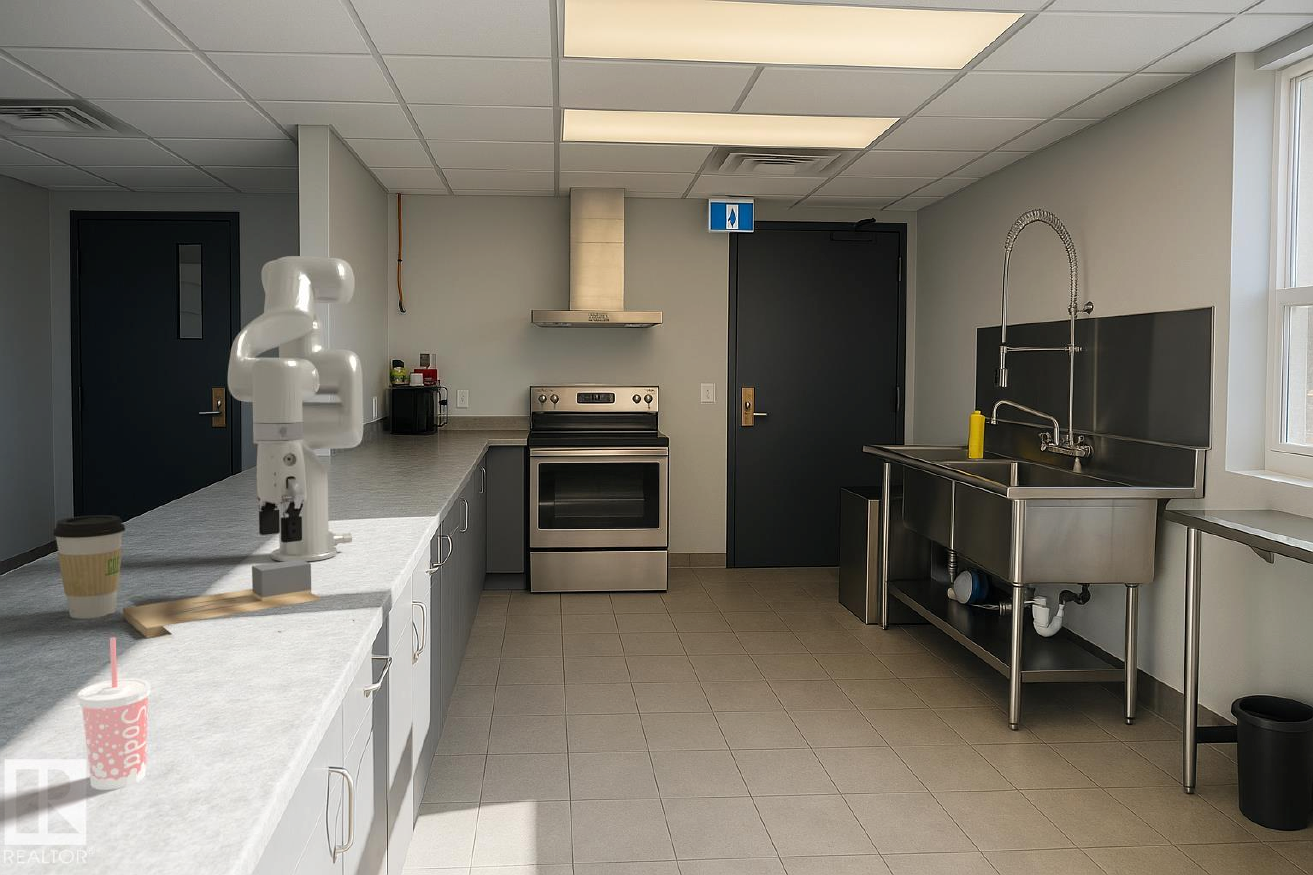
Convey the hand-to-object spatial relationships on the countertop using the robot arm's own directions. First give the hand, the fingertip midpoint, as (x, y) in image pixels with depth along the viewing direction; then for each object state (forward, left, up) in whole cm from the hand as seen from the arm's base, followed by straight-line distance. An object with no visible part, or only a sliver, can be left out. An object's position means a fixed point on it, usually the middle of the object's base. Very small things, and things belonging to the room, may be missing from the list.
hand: (280, 537), depth 154 cm
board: (+9, -1, -11) cm, 14 cm away
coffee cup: (+25, -14, -11) cm, 30 cm away
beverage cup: (+36, +54, -11) cm, 66 cm away
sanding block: (0, -1, -10) cm, 10 cm away
